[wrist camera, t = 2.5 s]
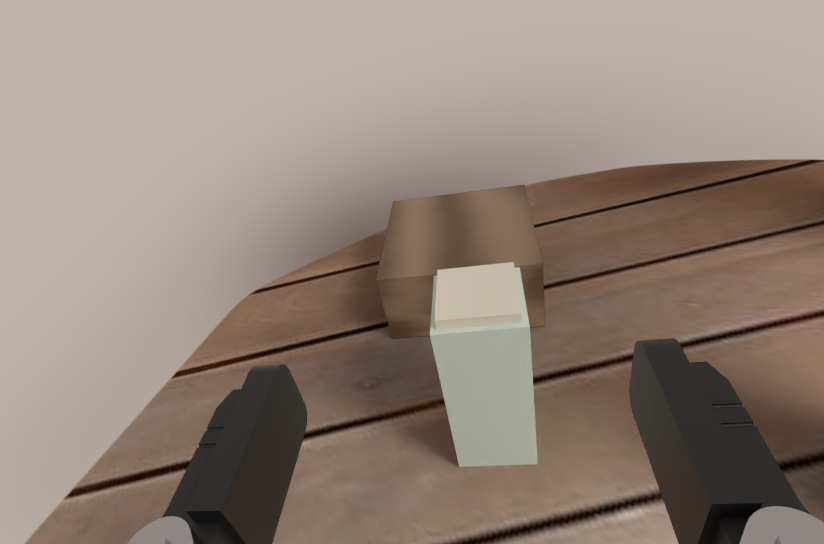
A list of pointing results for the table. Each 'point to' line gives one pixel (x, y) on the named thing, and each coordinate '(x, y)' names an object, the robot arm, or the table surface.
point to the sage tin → (485, 363)
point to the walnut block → (455, 251)
